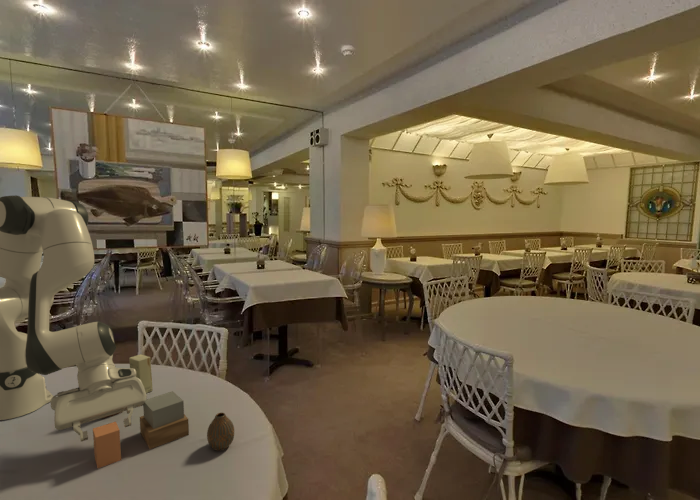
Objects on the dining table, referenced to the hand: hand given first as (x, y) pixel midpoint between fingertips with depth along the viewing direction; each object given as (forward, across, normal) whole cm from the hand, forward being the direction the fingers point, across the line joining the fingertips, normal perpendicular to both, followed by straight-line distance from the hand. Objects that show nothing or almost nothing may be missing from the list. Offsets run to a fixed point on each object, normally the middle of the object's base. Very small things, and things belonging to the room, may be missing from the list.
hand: (107, 432), depth 96 cm
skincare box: (-19, +15, +28) cm, 37 cm away
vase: (+15, +24, -5) cm, 28 cm away
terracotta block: (+5, 0, +4) cm, 7 cm away
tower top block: (0, +14, +2) cm, 14 cm away
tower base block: (+4, +14, +6) cm, 15 cm away
